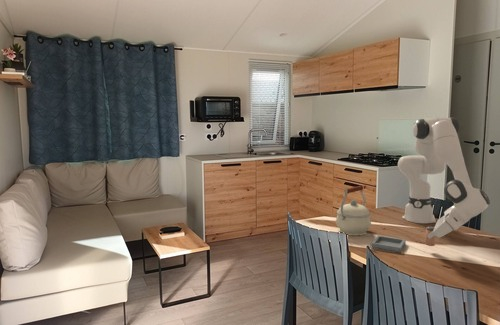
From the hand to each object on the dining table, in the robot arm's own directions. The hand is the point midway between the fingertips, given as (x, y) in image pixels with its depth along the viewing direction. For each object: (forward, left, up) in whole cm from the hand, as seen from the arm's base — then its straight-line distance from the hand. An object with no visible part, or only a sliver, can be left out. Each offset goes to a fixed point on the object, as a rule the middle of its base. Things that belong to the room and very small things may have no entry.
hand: (429, 235), depth 175 cm
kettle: (-13, -38, -8) cm, 41 cm away
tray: (+2, -17, -8) cm, 19 cm away
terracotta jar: (0, +1, -4) cm, 4 cm away
